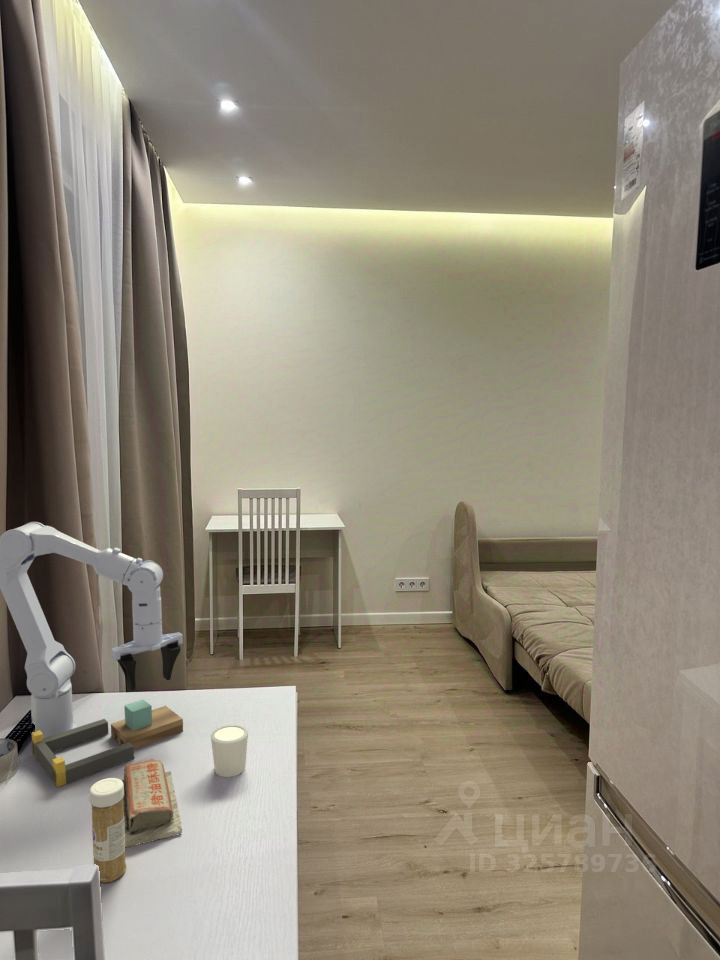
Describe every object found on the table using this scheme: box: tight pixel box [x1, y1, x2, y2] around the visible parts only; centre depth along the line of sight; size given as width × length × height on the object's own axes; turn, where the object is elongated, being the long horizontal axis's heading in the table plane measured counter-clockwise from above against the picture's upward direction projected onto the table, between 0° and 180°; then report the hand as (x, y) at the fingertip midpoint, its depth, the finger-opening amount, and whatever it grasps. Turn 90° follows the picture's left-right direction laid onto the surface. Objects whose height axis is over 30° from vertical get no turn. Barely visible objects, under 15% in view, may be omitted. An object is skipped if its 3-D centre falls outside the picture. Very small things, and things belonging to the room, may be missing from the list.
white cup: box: [210, 724, 249, 778], centre depth 118 cm, size 7×7×7 cm
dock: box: [31, 718, 135, 788], centre depth 122 cm, size 15×14×4 cm
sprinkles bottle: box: [89, 777, 127, 883], centre depth 91 cm, size 5×5×14 cm
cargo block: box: [123, 699, 153, 731], centre depth 130 cm, size 4×4×4 cm
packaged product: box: [120, 758, 183, 848], centre depth 106 cm, size 18×5×10 cm
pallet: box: [110, 705, 184, 750], centre depth 131 cm, size 8×12×3 cm, turn 132°
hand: (149, 683), depth 132 cm, fingers open, 7 cm apart
